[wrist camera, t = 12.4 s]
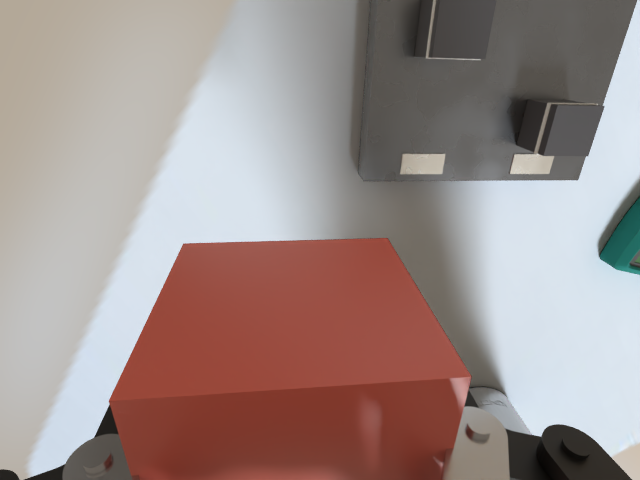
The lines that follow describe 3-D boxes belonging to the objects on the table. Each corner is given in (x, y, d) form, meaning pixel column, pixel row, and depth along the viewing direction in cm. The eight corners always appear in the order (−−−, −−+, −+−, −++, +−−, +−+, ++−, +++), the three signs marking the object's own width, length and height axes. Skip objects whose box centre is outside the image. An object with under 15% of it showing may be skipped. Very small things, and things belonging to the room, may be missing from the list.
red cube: (372, 384, 15) (424, 563, 10) (205, 395, 15) (166, 593, 9) (387, 238, 13) (471, 377, 7) (183, 243, 12) (108, 400, 7)
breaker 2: (557, 146, 27) (588, 157, 24) (515, 146, 27) (542, 156, 24) (571, 99, 26) (605, 105, 23) (527, 98, 25) (557, 104, 23)
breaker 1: (462, 59, 24) (485, 60, 21) (413, 57, 24) (431, 58, 21) (472, 0, 23) (498, -7, 20) (420, -2, 22) (440, -10, 20)
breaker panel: (560, 172, 30) (583, 182, 28) (358, 172, 29) (365, 183, 26) (633, -68, 24) (672, -80, 21) (377, -86, 22) (389, -102, 20)
